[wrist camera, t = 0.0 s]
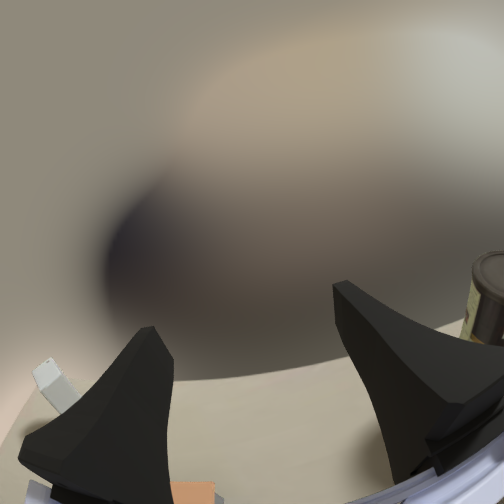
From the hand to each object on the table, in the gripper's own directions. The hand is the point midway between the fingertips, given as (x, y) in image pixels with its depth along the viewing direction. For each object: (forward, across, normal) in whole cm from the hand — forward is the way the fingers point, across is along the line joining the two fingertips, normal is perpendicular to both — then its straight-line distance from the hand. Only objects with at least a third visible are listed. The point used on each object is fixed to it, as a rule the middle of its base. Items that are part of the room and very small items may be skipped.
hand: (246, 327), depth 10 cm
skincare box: (+8, +28, +23) cm, 37 cm away
